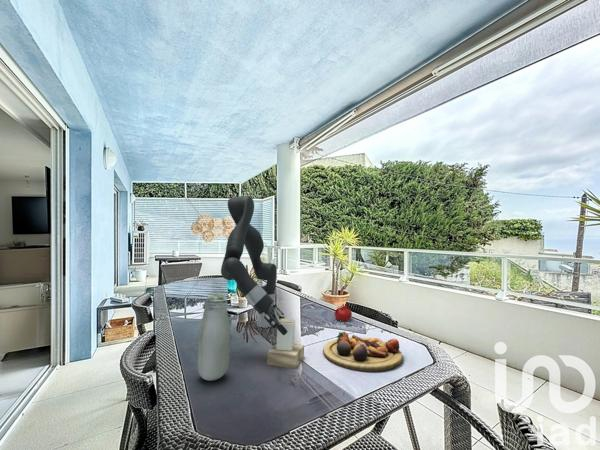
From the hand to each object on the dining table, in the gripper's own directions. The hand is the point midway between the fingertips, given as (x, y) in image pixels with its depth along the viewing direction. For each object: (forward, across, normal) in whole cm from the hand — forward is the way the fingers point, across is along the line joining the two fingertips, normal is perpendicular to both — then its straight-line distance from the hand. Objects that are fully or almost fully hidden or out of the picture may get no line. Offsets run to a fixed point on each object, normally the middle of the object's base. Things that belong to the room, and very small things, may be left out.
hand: (287, 329), depth 114 cm
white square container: (+4, 0, +5) cm, 7 cm away
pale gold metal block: (+8, 0, +9) cm, 12 cm away
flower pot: (-16, +18, +32) cm, 40 cm away
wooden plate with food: (+30, +10, -12) cm, 34 cm away
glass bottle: (-8, -17, +24) cm, 31 cm away
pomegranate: (+27, +59, -9) cm, 65 cm away
